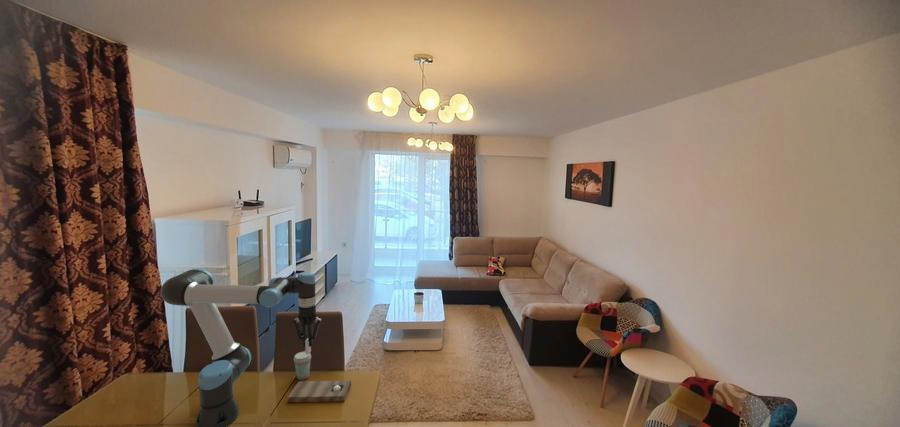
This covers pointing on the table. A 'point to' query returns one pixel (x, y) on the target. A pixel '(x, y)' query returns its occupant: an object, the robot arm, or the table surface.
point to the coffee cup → (302, 365)
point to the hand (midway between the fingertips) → (308, 352)
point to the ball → (337, 388)
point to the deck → (319, 391)
